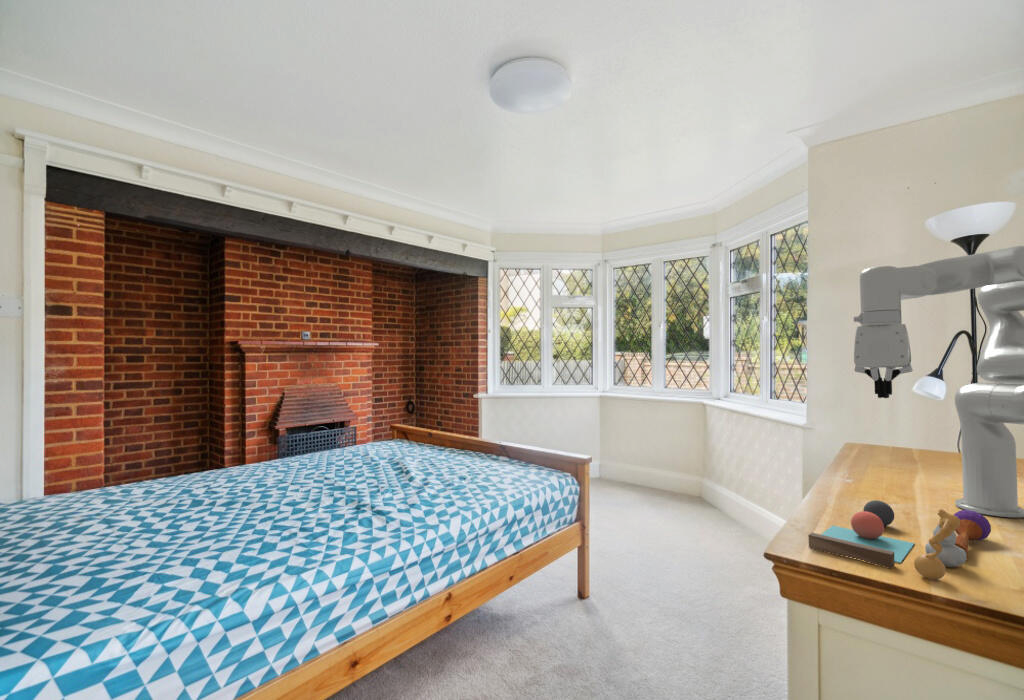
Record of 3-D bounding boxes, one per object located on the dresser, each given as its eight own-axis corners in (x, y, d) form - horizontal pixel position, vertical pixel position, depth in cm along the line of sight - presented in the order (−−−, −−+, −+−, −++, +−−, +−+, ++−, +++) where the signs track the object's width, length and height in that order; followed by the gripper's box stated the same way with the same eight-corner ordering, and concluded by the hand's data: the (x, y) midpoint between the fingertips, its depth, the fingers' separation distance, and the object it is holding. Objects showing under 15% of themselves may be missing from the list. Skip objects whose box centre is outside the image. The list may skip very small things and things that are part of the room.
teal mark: (832, 526, 105) (832, 525, 105) (914, 544, 94) (914, 543, 94) (812, 541, 95) (812, 540, 95) (900, 563, 85) (900, 562, 85)
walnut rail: (812, 545, 94) (811, 532, 94) (894, 565, 84) (894, 551, 84) (808, 547, 92) (808, 534, 93) (892, 569, 83) (891, 554, 83)
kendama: (930, 533, 90) (950, 506, 102) (939, 566, 89) (958, 534, 102) (972, 536, 85) (987, 507, 98) (982, 570, 84) (996, 536, 97)
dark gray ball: (860, 496, 106) (859, 521, 105) (891, 501, 102) (890, 527, 101) (867, 499, 110) (866, 524, 108) (897, 504, 105) (897, 530, 104)
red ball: (851, 503, 100) (846, 524, 97) (883, 509, 96) (879, 531, 93) (856, 519, 102) (851, 540, 99) (888, 526, 98) (883, 548, 95)
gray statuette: (922, 564, 85) (921, 519, 85) (930, 555, 89) (928, 512, 89) (963, 574, 81) (962, 527, 81) (969, 564, 85) (968, 519, 85)
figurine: (922, 568, 83) (920, 500, 83) (969, 581, 78) (966, 508, 79) (906, 580, 78) (904, 508, 79) (955, 595, 73) (953, 517, 74)
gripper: (838, 321, 113) (841, 397, 113) (919, 316, 102) (922, 400, 102) (847, 322, 118) (849, 395, 118) (925, 318, 107) (928, 398, 107)
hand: (883, 397), depth 110 cm, fingers closed
